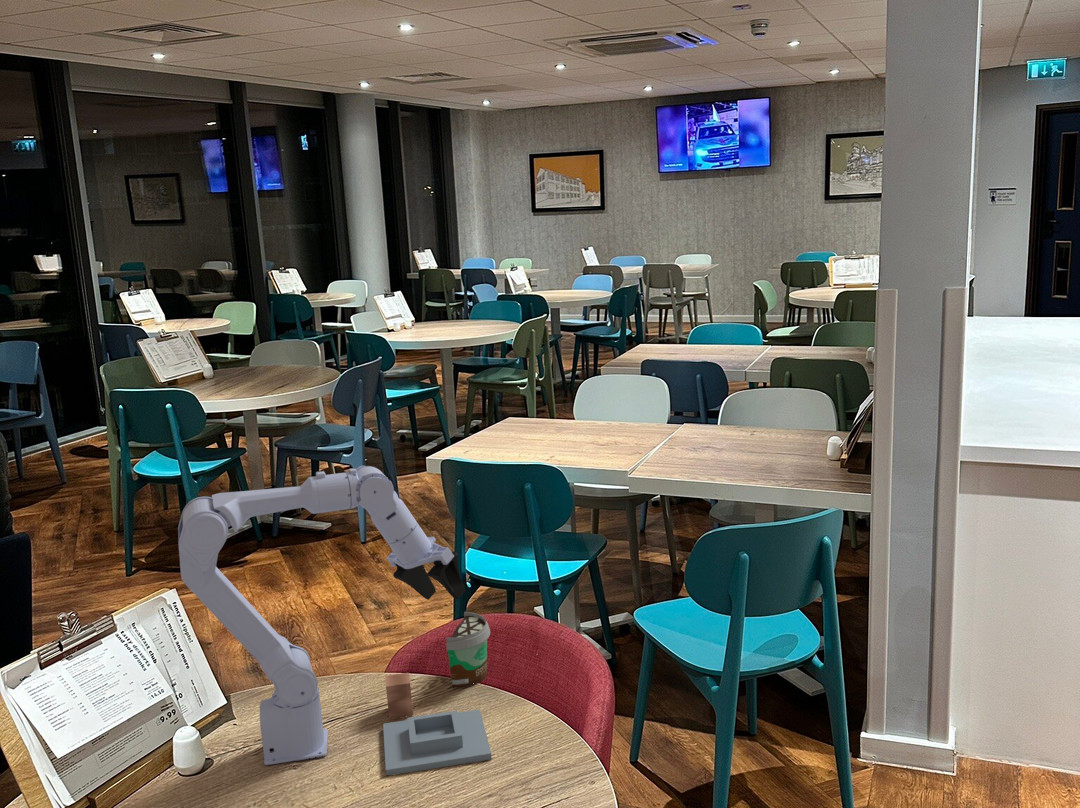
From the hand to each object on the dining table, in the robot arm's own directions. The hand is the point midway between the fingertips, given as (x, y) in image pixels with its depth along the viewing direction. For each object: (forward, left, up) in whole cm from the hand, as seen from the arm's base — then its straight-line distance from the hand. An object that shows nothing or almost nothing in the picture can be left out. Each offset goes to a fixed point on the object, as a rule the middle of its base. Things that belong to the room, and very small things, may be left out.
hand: (445, 595), depth 158 cm
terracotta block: (-9, +2, -21) cm, 23 cm away
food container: (+5, +11, -21) cm, 24 cm away
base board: (-4, -10, -21) cm, 23 cm away
